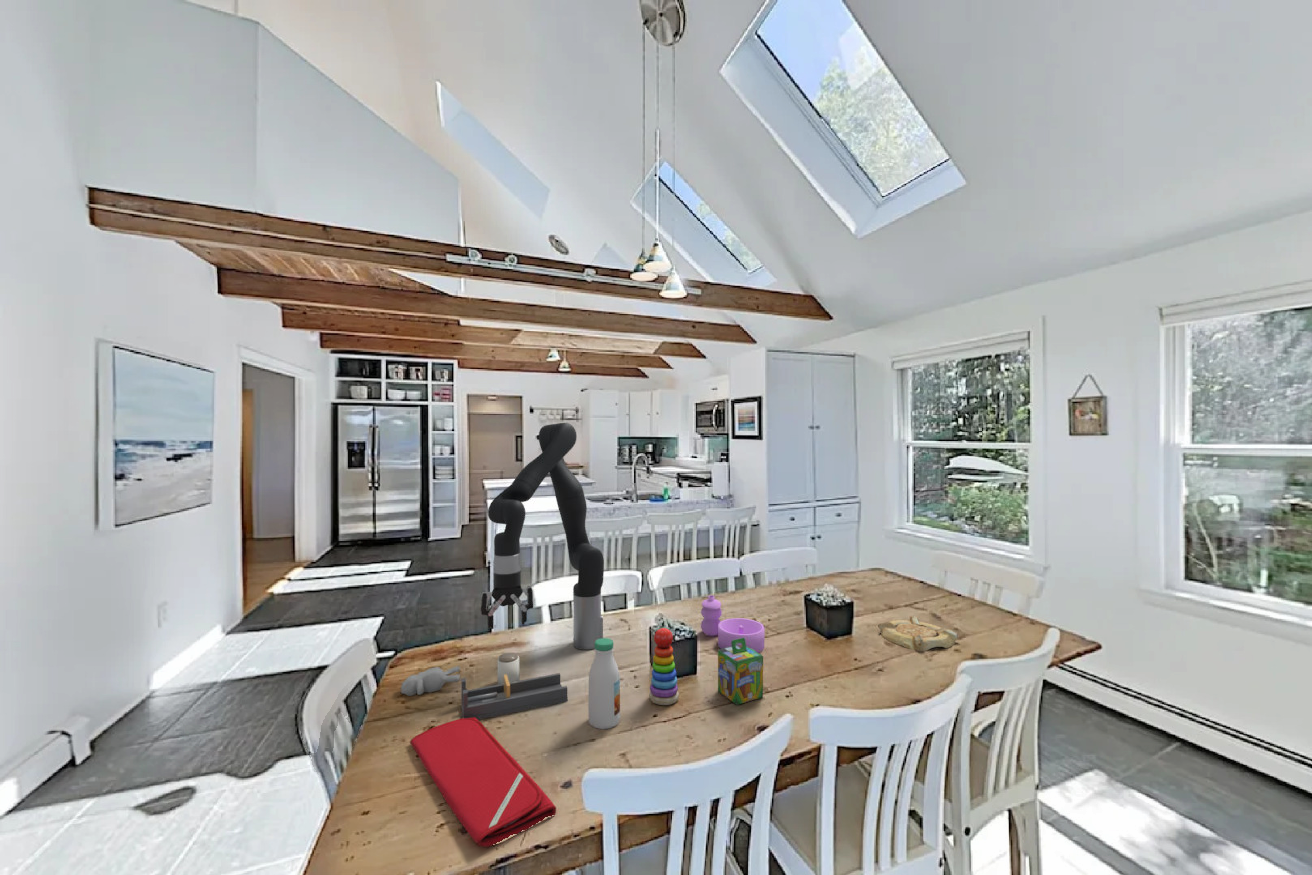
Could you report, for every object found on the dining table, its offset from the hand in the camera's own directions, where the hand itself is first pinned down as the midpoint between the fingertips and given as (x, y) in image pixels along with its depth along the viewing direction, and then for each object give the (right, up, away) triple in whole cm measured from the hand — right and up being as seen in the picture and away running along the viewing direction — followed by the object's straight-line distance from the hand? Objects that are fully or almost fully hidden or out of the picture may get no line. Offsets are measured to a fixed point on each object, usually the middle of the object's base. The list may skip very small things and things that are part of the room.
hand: (507, 625), depth 150 cm
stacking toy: (+45, -16, -9) cm, 48 cm away
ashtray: (+132, -16, +32) cm, 137 cm away
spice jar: (0, -16, 0) cm, 16 cm away
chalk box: (+65, -16, -7) cm, 68 cm away
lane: (+5, -16, -11) cm, 20 cm away
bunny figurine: (-20, -17, -3) cm, 26 cm away
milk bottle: (+30, -17, -20) cm, 39 cm away
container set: (+68, -16, +30) cm, 76 cm away
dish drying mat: (+5, -18, -40) cm, 44 cm away
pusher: (-1, -15, -14) cm, 20 cm away
